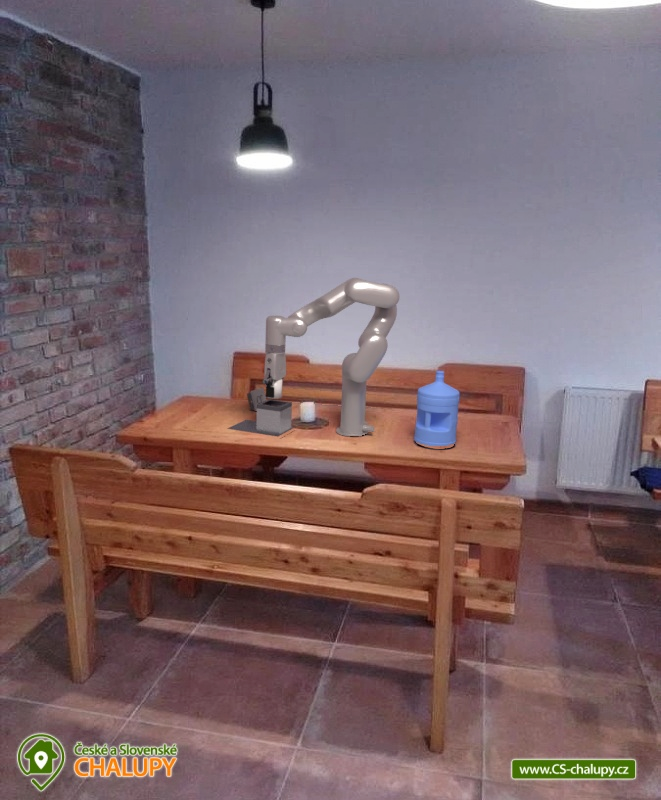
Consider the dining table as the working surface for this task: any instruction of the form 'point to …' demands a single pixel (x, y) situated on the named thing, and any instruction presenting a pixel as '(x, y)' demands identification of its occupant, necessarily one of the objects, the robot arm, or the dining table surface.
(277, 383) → the pump
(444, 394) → the water jug
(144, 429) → the dining table surface
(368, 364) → the robot arm
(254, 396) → the electrical switch
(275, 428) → the grey box
